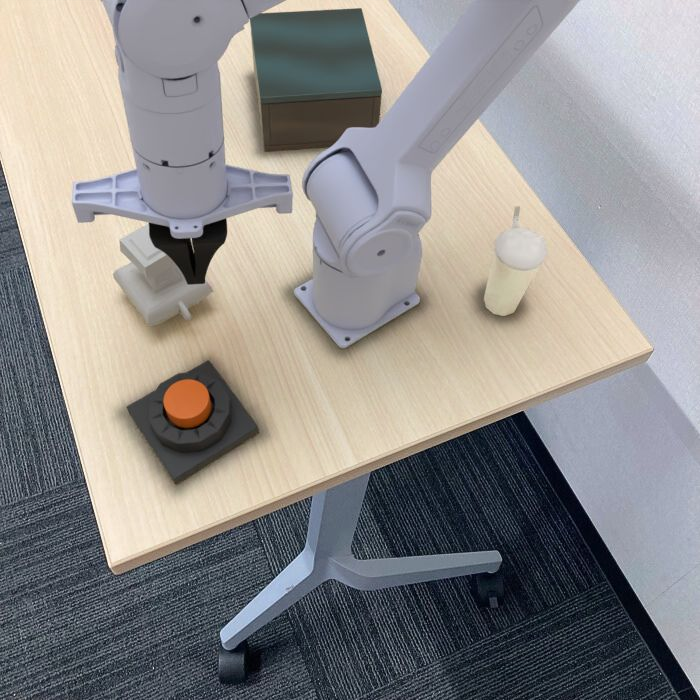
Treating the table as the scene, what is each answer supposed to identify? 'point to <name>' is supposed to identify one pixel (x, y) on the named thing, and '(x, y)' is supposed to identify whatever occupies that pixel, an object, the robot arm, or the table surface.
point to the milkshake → (513, 267)
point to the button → (187, 403)
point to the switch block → (198, 442)
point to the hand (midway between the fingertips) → (195, 274)
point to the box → (313, 120)
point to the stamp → (155, 281)
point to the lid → (313, 56)
